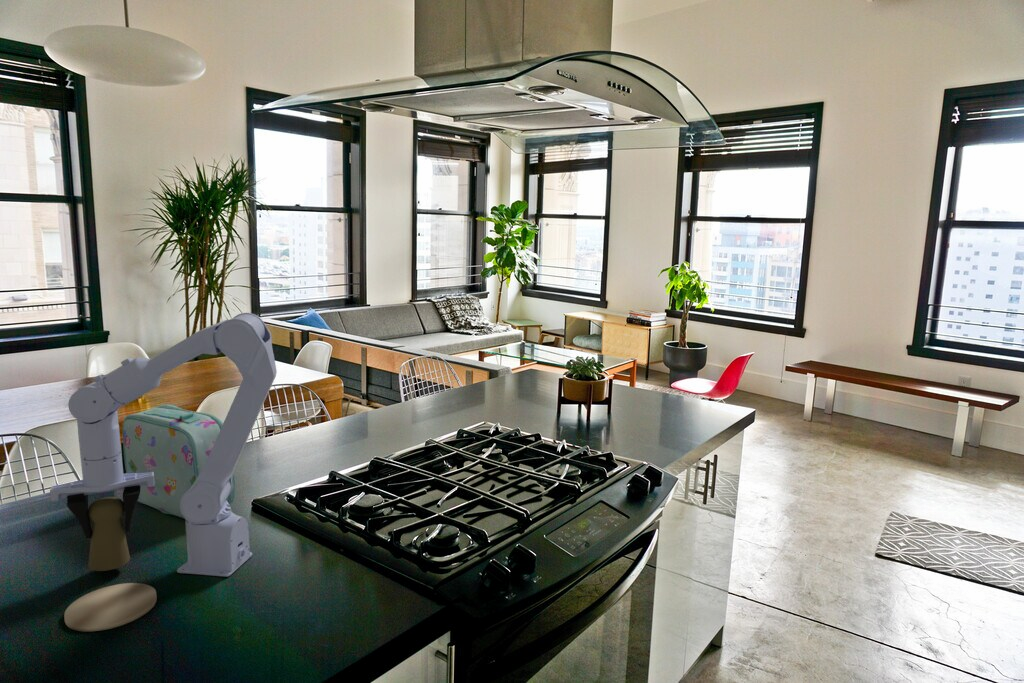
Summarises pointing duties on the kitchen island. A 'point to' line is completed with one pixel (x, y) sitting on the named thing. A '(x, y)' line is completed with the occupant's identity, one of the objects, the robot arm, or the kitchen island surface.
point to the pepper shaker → (107, 535)
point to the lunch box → (169, 452)
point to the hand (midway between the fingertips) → (108, 533)
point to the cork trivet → (110, 607)
